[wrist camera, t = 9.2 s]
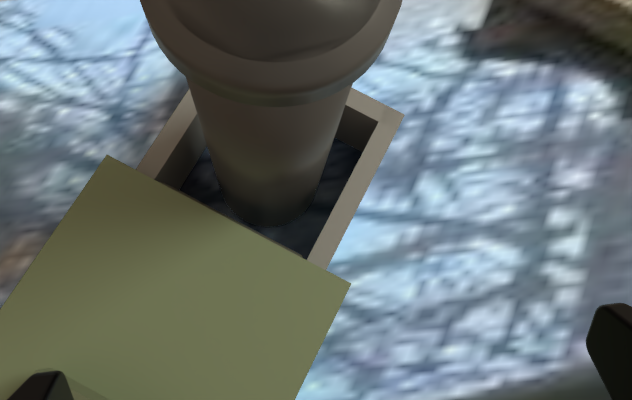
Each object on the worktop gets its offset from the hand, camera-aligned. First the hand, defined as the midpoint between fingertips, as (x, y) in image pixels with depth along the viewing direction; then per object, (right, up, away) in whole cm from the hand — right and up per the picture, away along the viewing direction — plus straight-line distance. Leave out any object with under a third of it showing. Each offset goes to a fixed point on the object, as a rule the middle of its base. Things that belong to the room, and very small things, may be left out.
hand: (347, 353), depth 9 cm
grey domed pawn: (-3, +4, +15) cm, 15 cm away
